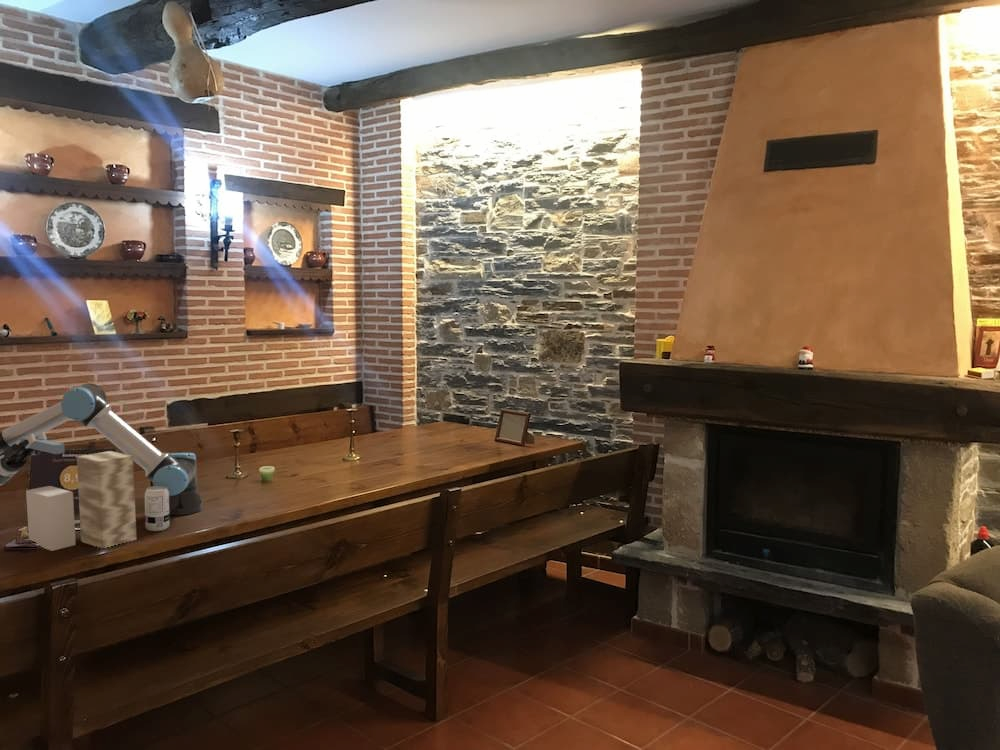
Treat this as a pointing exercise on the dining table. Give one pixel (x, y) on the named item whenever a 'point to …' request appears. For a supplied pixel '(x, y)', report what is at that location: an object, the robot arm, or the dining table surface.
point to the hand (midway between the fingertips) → (39, 436)
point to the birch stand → (106, 498)
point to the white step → (51, 517)
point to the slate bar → (46, 446)
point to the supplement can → (156, 508)
